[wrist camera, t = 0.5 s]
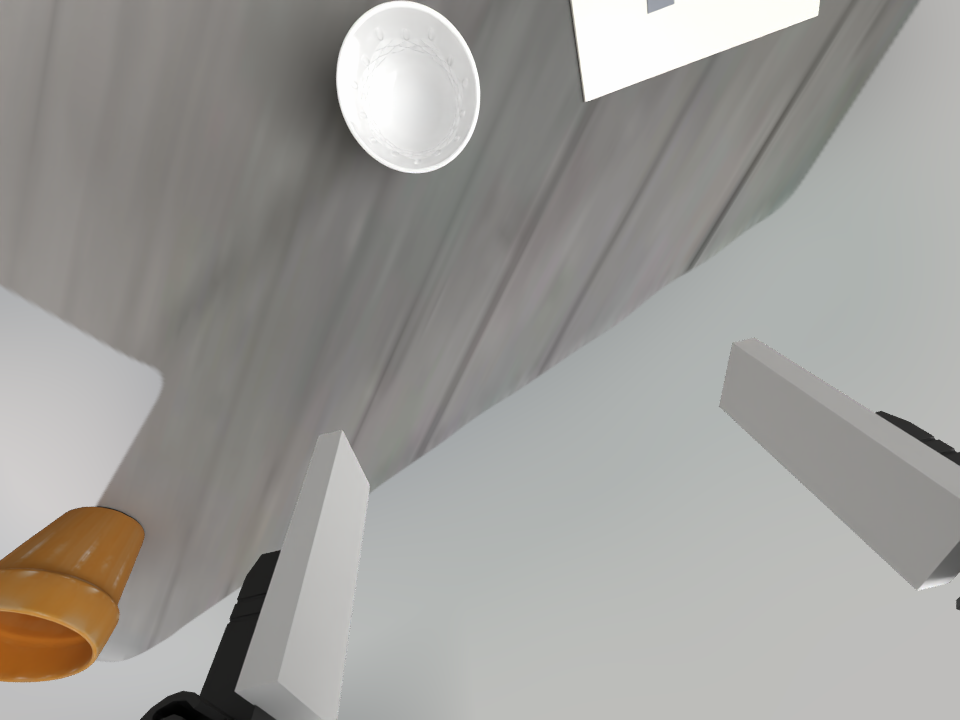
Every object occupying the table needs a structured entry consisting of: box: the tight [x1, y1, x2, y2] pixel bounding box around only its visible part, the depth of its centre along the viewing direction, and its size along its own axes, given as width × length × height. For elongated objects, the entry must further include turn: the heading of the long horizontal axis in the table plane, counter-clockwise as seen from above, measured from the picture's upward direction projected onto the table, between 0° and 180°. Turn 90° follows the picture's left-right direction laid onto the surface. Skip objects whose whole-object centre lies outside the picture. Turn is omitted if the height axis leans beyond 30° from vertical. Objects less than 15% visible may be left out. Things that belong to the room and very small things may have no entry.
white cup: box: [336, 1, 480, 173], centre depth 26 cm, size 8×8×10 cm
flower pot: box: [0, 507, 144, 682], centre depth 42 cm, size 14×14×13 cm
